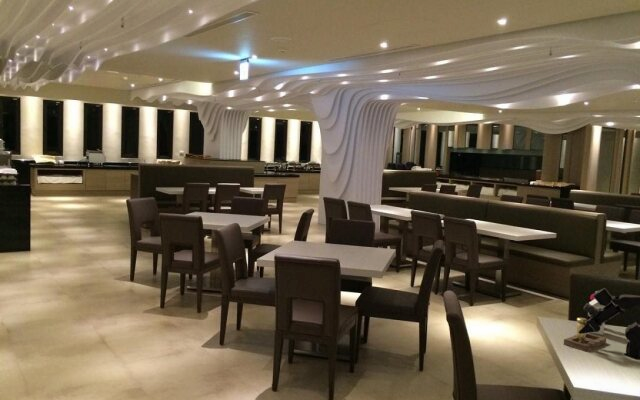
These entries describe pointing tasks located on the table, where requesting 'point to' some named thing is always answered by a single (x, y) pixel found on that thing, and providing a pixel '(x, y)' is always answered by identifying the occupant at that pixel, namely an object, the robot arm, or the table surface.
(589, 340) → the template plate
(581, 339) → the brass bolt
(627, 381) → the table surface
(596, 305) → the milk carton
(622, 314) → the robot arm
